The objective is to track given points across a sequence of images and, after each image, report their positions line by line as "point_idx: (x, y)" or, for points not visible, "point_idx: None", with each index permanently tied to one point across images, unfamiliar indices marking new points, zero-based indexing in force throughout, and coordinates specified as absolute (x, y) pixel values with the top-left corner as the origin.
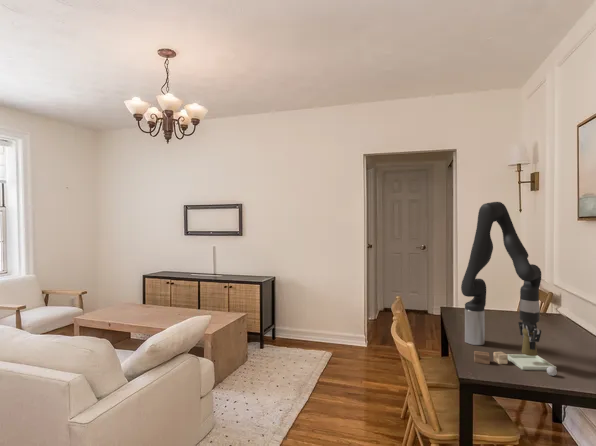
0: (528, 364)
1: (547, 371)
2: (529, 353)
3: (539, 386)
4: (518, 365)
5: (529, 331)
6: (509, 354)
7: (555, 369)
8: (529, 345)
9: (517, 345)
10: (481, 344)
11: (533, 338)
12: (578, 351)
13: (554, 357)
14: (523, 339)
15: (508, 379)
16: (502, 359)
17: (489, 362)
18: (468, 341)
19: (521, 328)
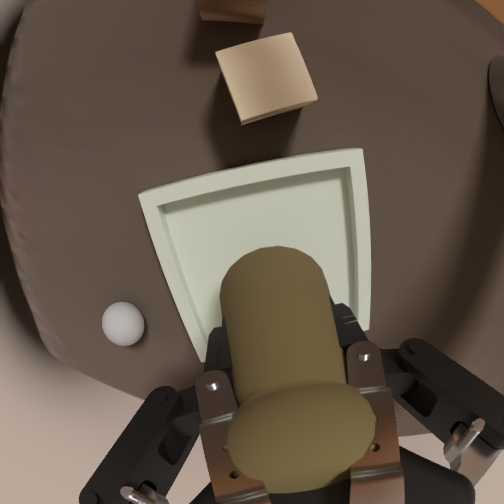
0: (231, 249)
1: (113, 304)
2: (223, 292)
3: (8, 219)
4: (186, 179)
5: (216, 481)
6: (363, 177)
7: (112, 341)
8: (228, 337)
9: (489, 279)
10: (497, 109)
11: (138, 421)
12: (402, 422)
13: None
14: (313, 333)
15: (26, 105)
16: (227, 85)
17: (200, 14)
18: (500, 56)
19: (451, 402)
